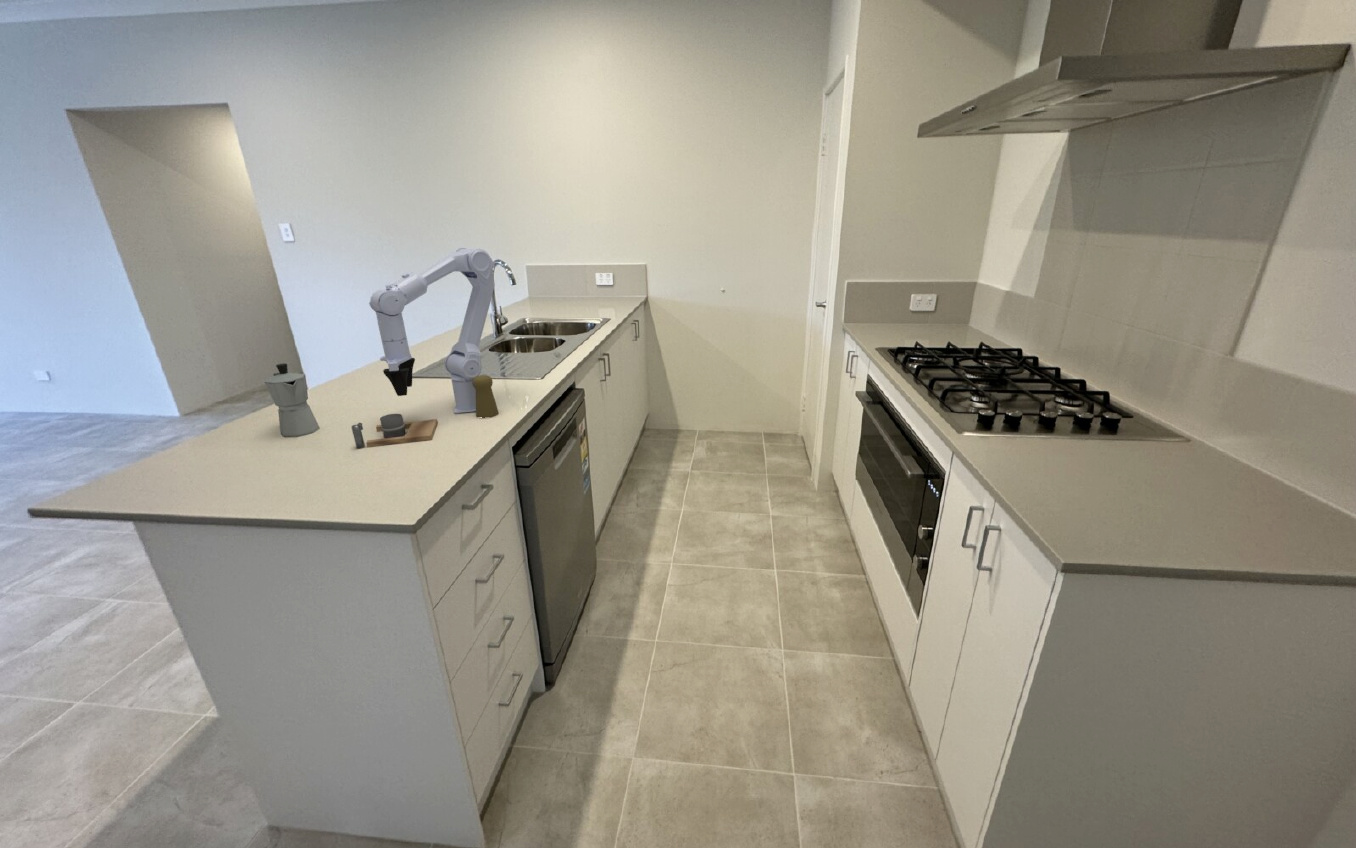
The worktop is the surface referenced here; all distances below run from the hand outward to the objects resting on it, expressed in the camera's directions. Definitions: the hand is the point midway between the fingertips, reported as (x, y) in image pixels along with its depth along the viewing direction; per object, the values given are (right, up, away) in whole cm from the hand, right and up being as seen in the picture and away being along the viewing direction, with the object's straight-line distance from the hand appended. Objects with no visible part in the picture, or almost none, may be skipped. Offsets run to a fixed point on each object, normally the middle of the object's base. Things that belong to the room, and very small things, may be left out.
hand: (405, 390), depth 143 cm
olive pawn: (+18, -6, +10) cm, 21 cm away
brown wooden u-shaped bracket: (+2, -11, -3) cm, 12 cm away
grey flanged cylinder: (-1, -12, -3) cm, 12 cm away
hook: (-6, -14, -9) cm, 17 cm away
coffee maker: (-28, -10, +1) cm, 30 cm away
